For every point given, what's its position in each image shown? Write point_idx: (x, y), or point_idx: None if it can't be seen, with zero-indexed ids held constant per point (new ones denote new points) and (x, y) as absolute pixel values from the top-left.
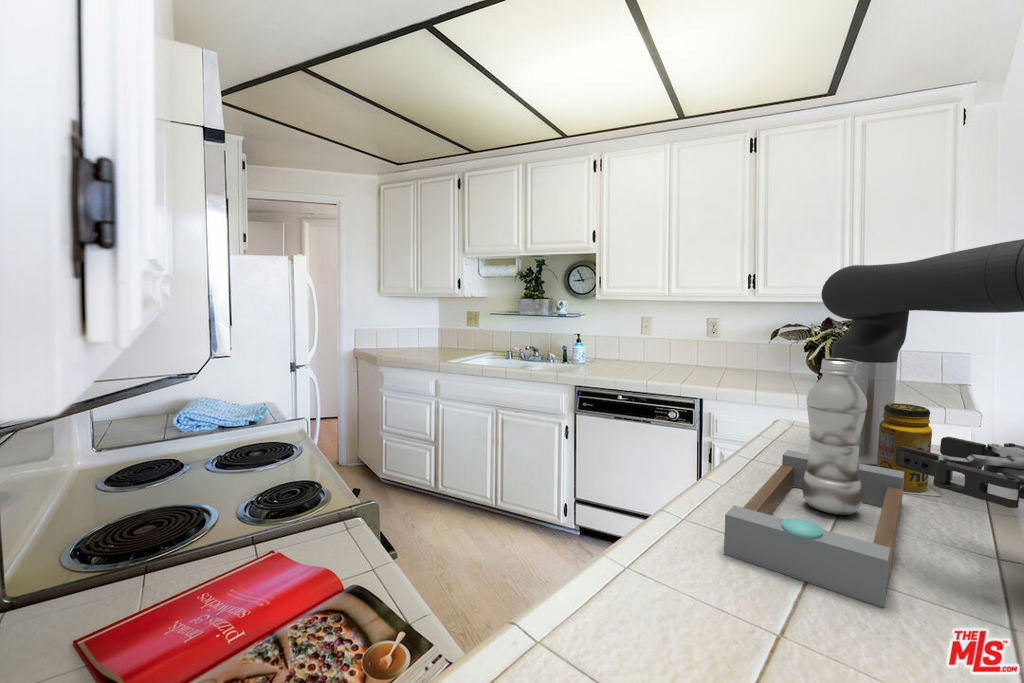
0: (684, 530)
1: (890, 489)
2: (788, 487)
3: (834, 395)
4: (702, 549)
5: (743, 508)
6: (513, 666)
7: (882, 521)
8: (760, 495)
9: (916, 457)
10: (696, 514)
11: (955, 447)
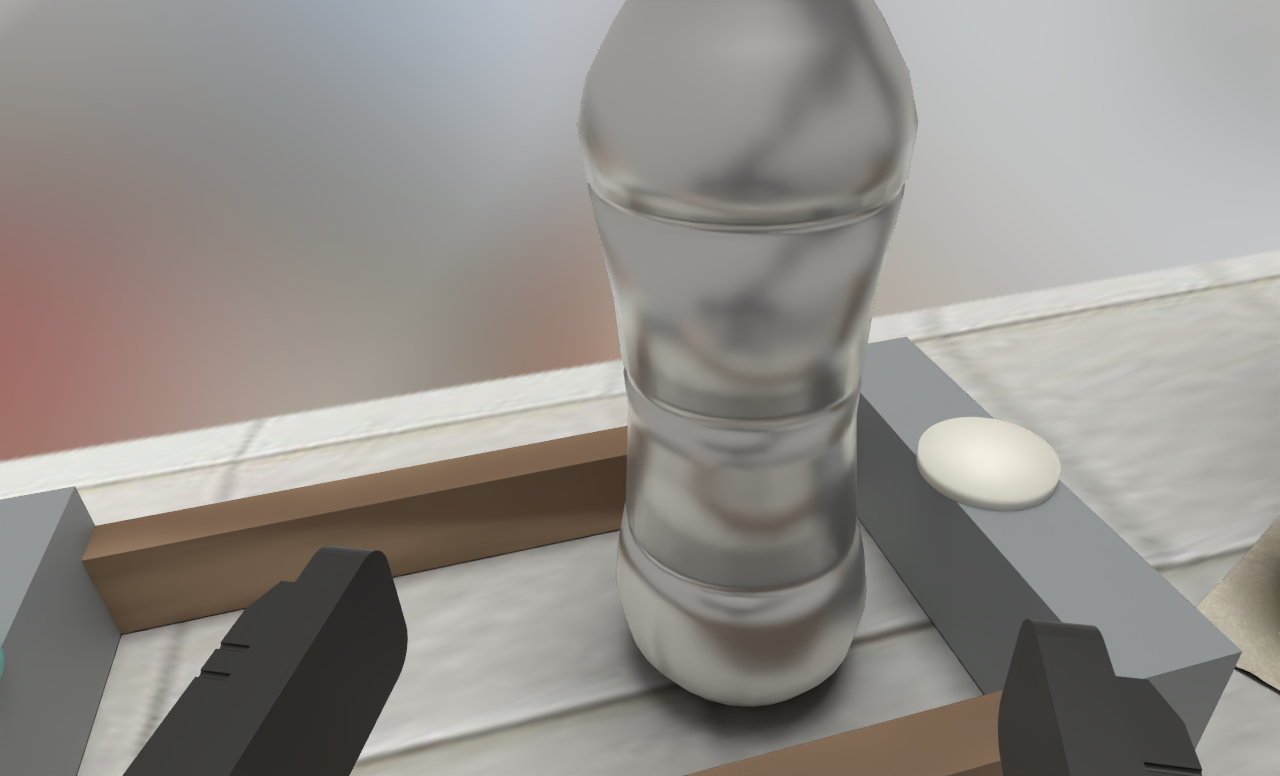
0: (148, 497)
1: None
2: None
3: (600, 74)
4: None
5: (56, 511)
6: None
7: None
8: (399, 481)
9: (187, 691)
10: (299, 462)
11: (1037, 758)
